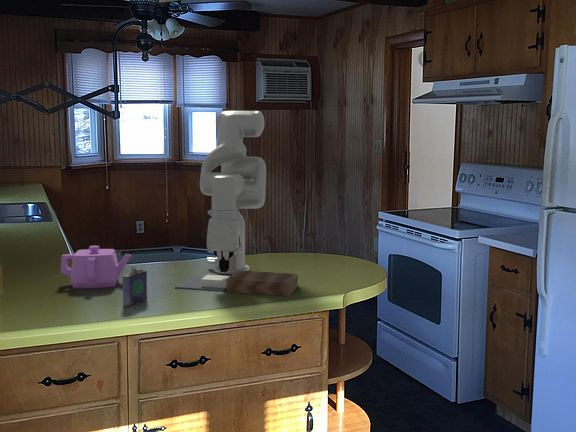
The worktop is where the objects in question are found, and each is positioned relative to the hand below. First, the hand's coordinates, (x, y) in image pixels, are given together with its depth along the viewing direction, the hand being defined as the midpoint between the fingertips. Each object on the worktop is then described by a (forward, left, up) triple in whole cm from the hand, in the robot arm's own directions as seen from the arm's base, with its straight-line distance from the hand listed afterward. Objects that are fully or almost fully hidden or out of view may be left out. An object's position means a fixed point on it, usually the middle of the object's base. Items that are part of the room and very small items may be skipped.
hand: (224, 271), depth 211 cm
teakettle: (-41, -6, -5) cm, 42 cm away
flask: (-19, -24, -5) cm, 31 cm away
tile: (-2, -1, -4) cm, 5 cm away
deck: (+13, 0, -5) cm, 14 cm away
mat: (-6, +1, -5) cm, 8 cm away
